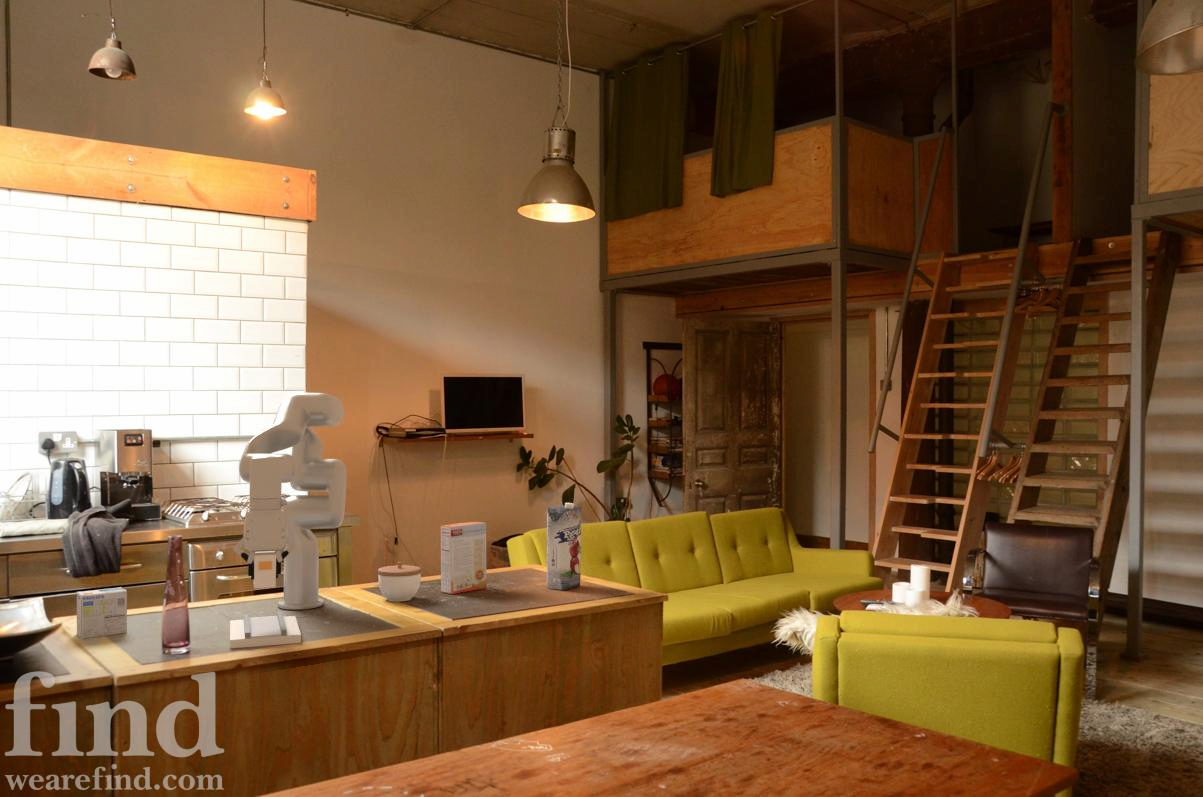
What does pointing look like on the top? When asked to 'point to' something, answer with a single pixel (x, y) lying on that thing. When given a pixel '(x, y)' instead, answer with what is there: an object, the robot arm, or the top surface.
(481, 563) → the cracker box
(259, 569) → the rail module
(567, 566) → the juice carton
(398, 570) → the lidded bowl
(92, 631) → the light bulb box
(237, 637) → the rail board
